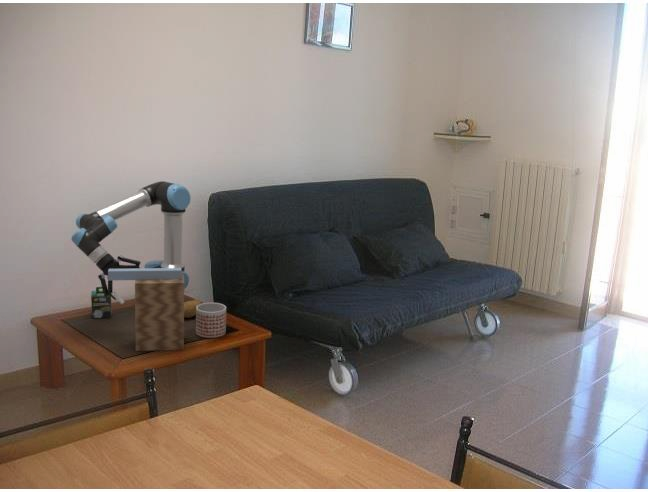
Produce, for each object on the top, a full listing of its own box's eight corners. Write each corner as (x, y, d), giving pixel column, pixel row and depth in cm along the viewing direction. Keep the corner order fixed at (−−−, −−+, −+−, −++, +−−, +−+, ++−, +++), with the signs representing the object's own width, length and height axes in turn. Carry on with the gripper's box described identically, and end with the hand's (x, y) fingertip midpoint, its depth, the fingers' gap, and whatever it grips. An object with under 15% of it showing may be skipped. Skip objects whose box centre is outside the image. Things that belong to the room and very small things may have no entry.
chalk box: (111, 311, 321) (111, 283, 318) (111, 317, 312) (111, 288, 309) (92, 312, 318) (91, 283, 315) (91, 318, 310) (90, 289, 306)
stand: (135, 350, 275) (134, 283, 268) (137, 338, 289) (136, 274, 282) (183, 349, 280) (184, 282, 273) (183, 337, 293) (183, 273, 286)
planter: (191, 330, 303) (192, 304, 300) (219, 326, 309) (220, 301, 306) (201, 340, 291) (201, 313, 288) (230, 336, 298) (230, 310, 295)
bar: (108, 280, 271) (107, 271, 270) (109, 277, 274) (108, 268, 274) (181, 279, 277) (181, 270, 277) (181, 276, 281) (181, 267, 280)
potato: (206, 315, 323) (207, 300, 321) (185, 322, 312) (185, 306, 310) (193, 310, 328) (193, 295, 327) (171, 317, 317) (171, 302, 315)
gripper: (78, 279, 282) (111, 313, 284) (119, 239, 278) (153, 273, 280) (84, 276, 289) (117, 309, 291) (124, 236, 286) (157, 270, 288)
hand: (136, 292), depth 286 cm, fingers open, 14 cm apart
